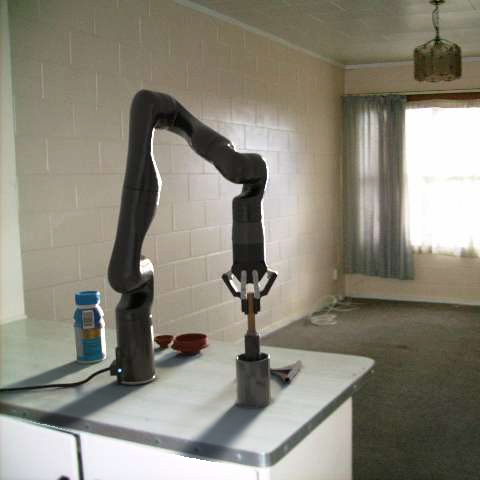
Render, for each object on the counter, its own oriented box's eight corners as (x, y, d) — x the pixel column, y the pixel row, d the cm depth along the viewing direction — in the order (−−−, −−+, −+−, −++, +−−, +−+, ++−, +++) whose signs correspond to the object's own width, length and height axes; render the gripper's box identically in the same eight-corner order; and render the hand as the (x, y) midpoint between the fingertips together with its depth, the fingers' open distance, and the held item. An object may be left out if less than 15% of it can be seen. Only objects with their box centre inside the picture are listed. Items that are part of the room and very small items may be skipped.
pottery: (192, 359, 184) (191, 345, 184) (142, 350, 195) (142, 336, 194) (218, 349, 194) (217, 335, 194) (169, 341, 205) (169, 327, 204)
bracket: (250, 364, 179) (250, 354, 179) (302, 366, 177) (302, 356, 176) (234, 381, 165) (234, 371, 165) (290, 384, 163) (290, 373, 162)
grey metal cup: (236, 409, 147) (234, 362, 145) (237, 396, 155) (236, 352, 153) (271, 407, 147) (269, 361, 146) (270, 394, 155) (269, 351, 154)
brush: (244, 362, 148) (242, 294, 146) (245, 357, 151) (242, 291, 149) (260, 361, 148) (258, 294, 146) (260, 356, 152) (258, 291, 150)
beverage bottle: (69, 362, 184) (64, 294, 182) (90, 354, 192) (86, 289, 189) (92, 365, 181) (88, 296, 178) (112, 356, 189) (108, 290, 186)
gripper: (278, 237, 151) (280, 309, 153) (219, 239, 149) (222, 311, 152) (278, 241, 143) (281, 316, 145) (217, 243, 142) (220, 319, 144)
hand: (251, 313), depth 148 cm, fingers closed on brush, 2 cm apart
